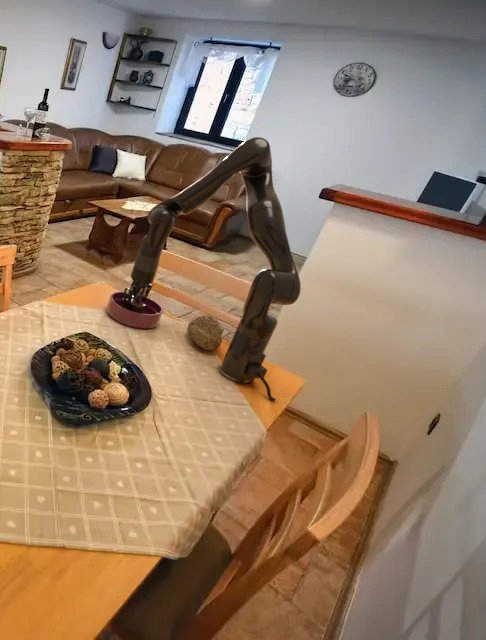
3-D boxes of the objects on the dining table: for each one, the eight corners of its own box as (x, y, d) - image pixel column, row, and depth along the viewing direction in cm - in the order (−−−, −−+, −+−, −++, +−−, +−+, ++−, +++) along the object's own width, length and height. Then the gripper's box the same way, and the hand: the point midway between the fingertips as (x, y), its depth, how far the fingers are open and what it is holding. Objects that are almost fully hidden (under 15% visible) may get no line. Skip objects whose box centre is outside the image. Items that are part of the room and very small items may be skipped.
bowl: (168, 329, 170) (173, 315, 168) (122, 329, 163) (127, 314, 161) (139, 305, 185) (144, 292, 182) (97, 305, 178) (101, 291, 176)
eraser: (141, 317, 174) (145, 305, 172) (135, 319, 171) (139, 307, 169) (125, 308, 178) (129, 297, 176) (119, 310, 175) (122, 298, 173)
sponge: (191, 328, 178) (174, 332, 162) (204, 310, 175) (188, 312, 159) (224, 350, 173) (209, 356, 156) (237, 331, 170) (224, 336, 153)
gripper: (147, 260, 173) (133, 305, 181) (124, 265, 164) (110, 312, 172) (166, 268, 169) (150, 313, 177) (142, 274, 160) (127, 321, 167)
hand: (130, 312), depth 174 cm, fingers closed on eraser, 4 cm apart
